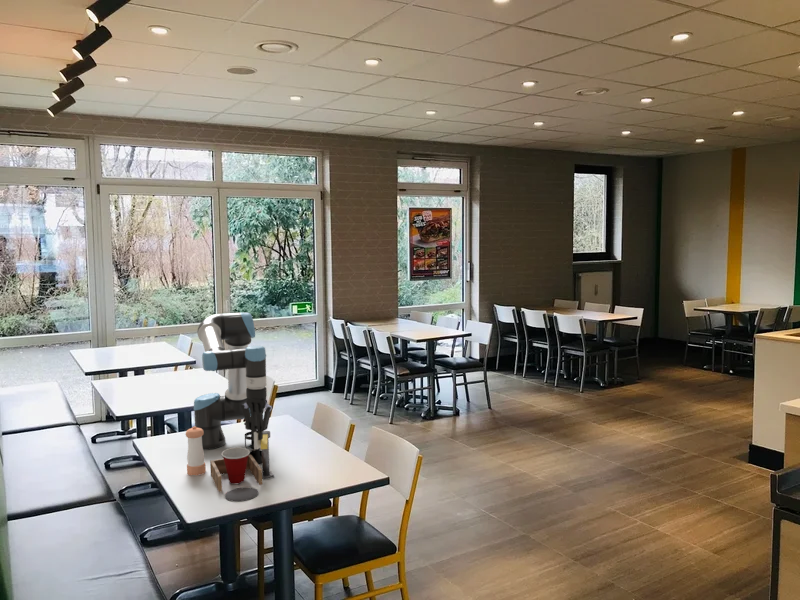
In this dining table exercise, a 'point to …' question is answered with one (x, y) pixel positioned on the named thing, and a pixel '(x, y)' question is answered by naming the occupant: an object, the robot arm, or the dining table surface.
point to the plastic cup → (236, 463)
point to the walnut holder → (220, 468)
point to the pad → (241, 494)
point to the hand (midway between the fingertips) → (257, 448)
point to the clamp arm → (265, 439)
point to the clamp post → (266, 464)
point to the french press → (254, 452)
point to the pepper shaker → (195, 452)
